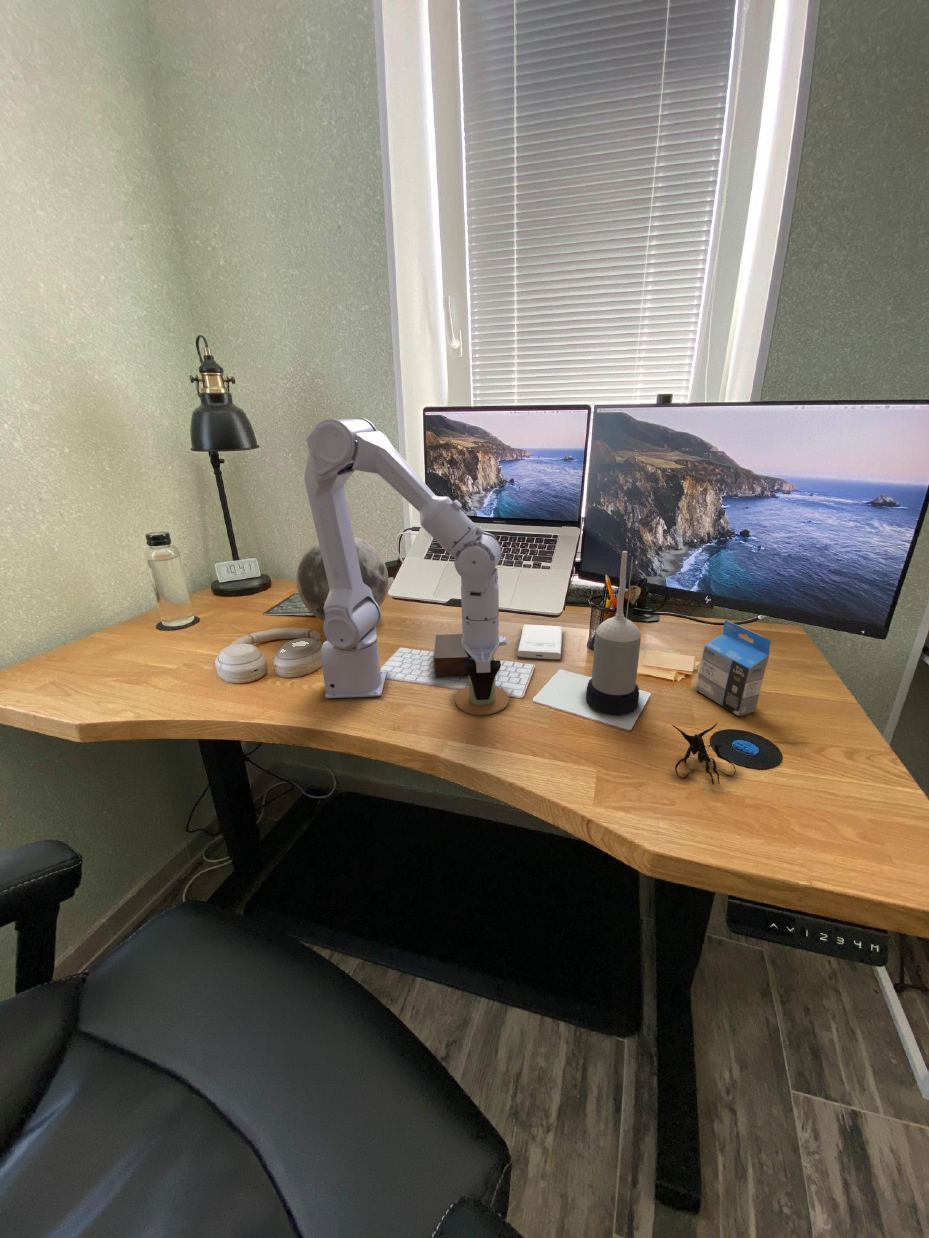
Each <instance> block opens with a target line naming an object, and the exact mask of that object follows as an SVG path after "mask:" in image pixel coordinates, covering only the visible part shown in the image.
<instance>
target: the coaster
mask: <svg viewBox="0 0 929 1238" xmlns="http://www.w3.org/2000/svg"><path fill="white" fill-rule="evenodd" d="M495 694H496V698H495V701H494V702H492V703H491V704H488V705H476V704H474V703H472V702H471V701H470V700H469V686H467V687H464V688H462V689H461V690H459V691H458V692H457V693H456V695H455V696H454V704H455V706H456V707H457V708H458V709H459V710H460V711H462V712H464V713H466V714H469V715H474V716H475V715H476V716H488V715H489V716H490V715H494V714H496V713H499V712H502V711H503V710H505V709H506V708H507V707H508V705H509V703H510V696H509V694H508V693H507V692H506V691H505V689H503V688H500V687H498V686H496V685H495Z"/></svg>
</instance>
